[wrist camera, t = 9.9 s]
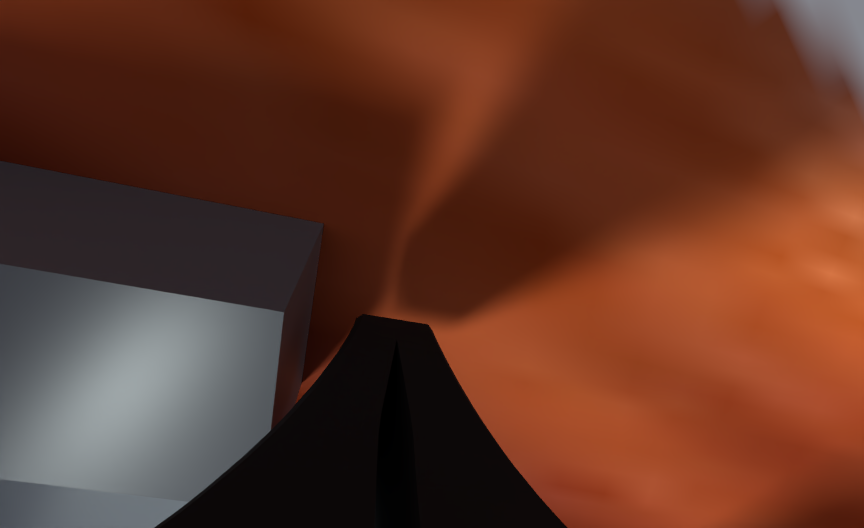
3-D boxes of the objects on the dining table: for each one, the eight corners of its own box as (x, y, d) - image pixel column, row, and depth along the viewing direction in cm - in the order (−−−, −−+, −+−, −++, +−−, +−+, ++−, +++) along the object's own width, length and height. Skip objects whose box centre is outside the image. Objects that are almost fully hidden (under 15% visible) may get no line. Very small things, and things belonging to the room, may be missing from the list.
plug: (303, 377, 12) (261, 510, 8) (-76, 318, 11) (-286, 444, 7) (325, 219, 10) (284, 312, 7) (-125, 131, 9) (-421, 191, 6)
